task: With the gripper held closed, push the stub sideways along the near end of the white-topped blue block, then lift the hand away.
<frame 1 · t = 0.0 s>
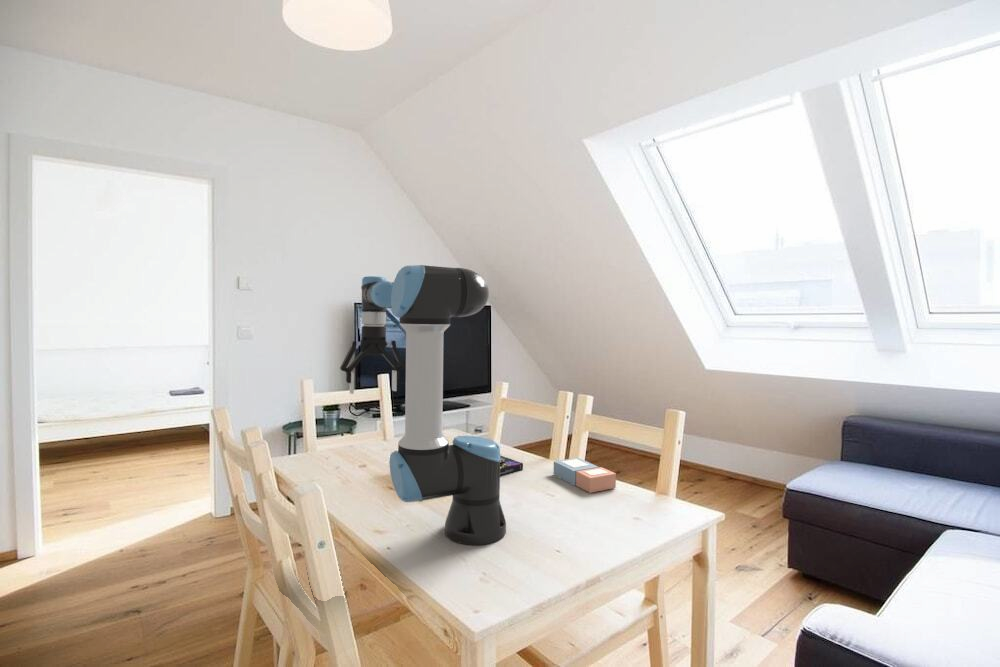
hand: (373, 392, 159), 28 cm above the table, fingers open, 13 cm apart
white-topped blue block: (576, 477, 165), on the table
stub: (595, 479, 156), point 3 cm above the table, slide at 0.0 cm
box: (488, 473, 170), on the table
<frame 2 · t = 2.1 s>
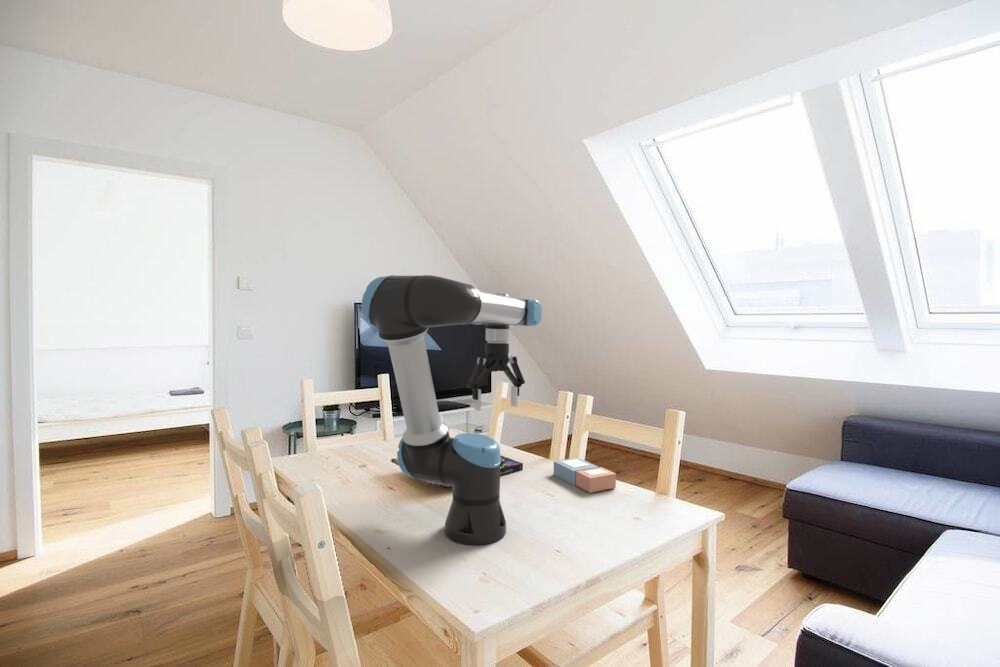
hand: (496, 408, 160), 23 cm above the table, fingers open, 13 cm apart
nothing on the table moved.
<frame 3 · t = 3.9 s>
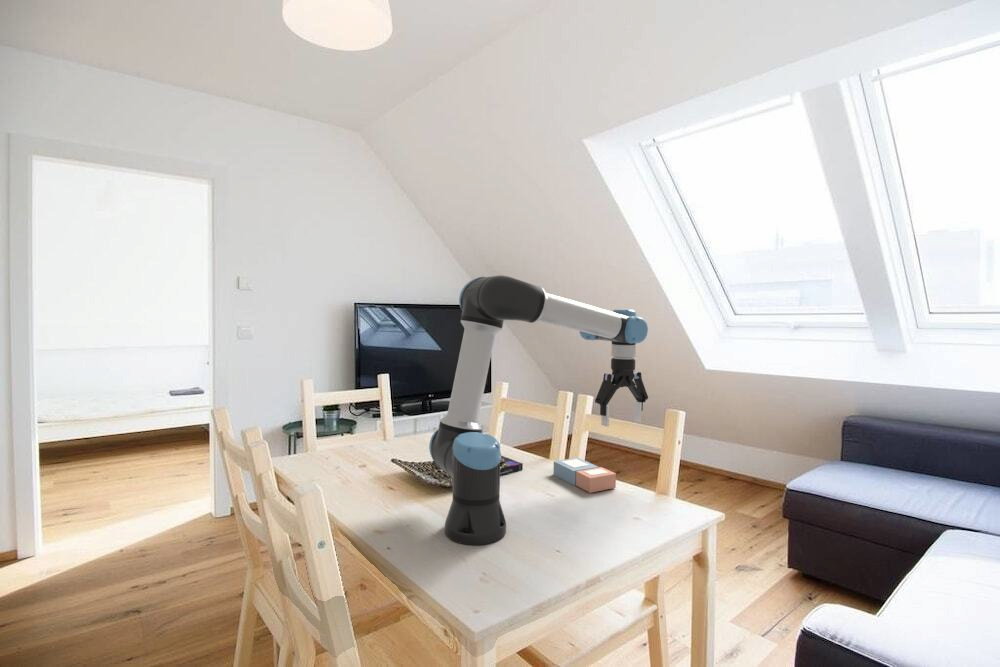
hand: (621, 423, 161), 19 cm above the table, fingers open, 13 cm apart
nothing on the table moved.
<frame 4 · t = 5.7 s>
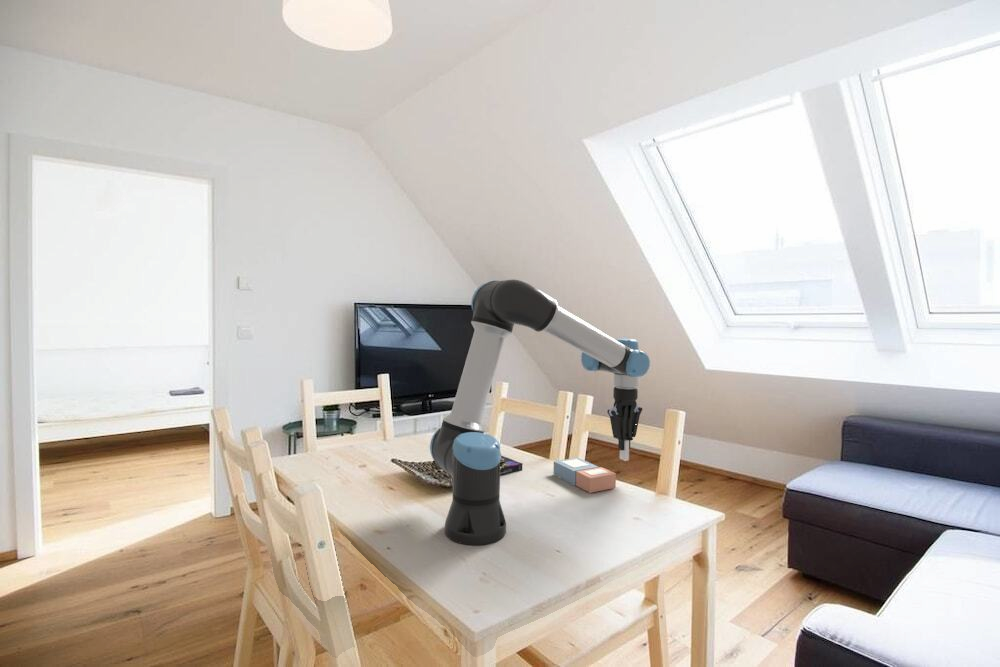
hand: (624, 459, 161), 7 cm above the table, fingers closed
nothing on the table moved.
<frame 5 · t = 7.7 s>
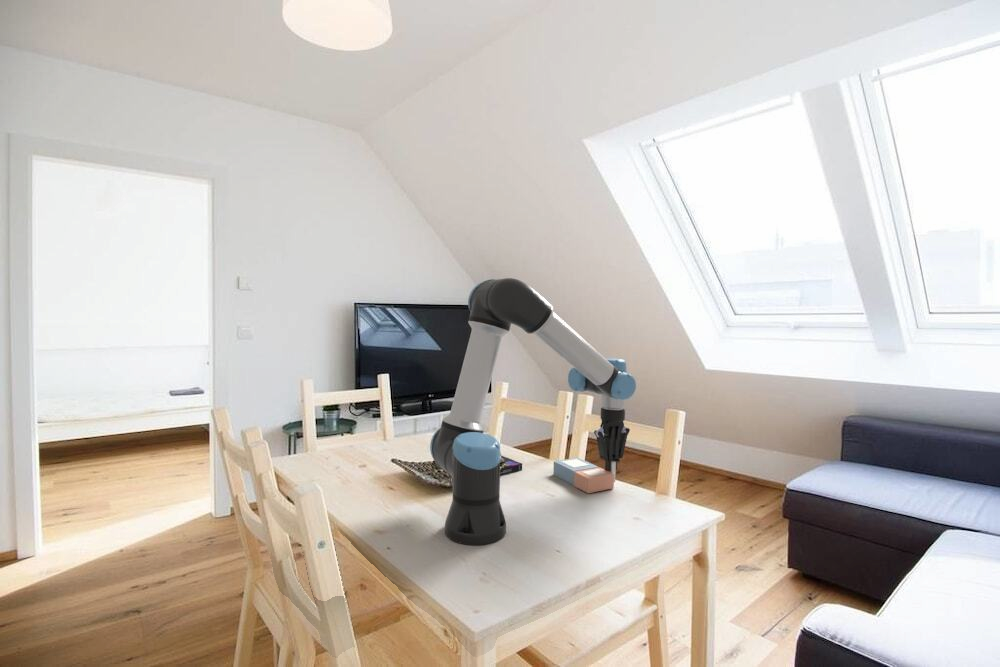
hand: (610, 480, 159), 1 cm above the table, fingers closed
stub: (593, 479, 156), point 3 cm above the table, slide at 0.8 cm, touching gripper
everything else where it was.
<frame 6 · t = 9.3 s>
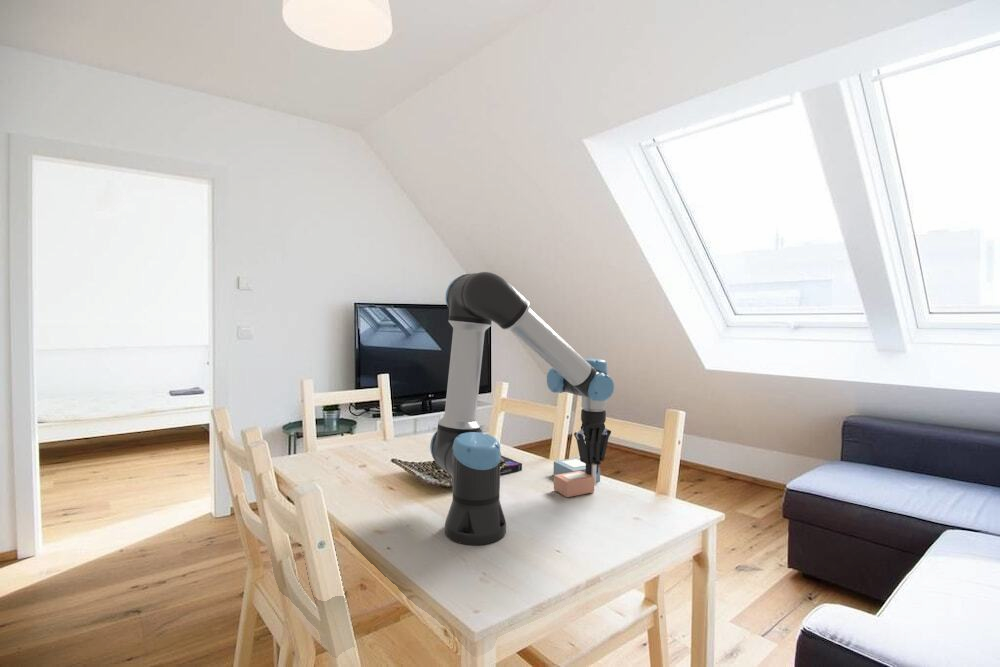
hand: (591, 484, 155), 1 cm above the table, fingers closed
stub: (573, 483, 152), point 3 cm above the table, slide at 8.4 cm, touching gripper
everything else where it was.
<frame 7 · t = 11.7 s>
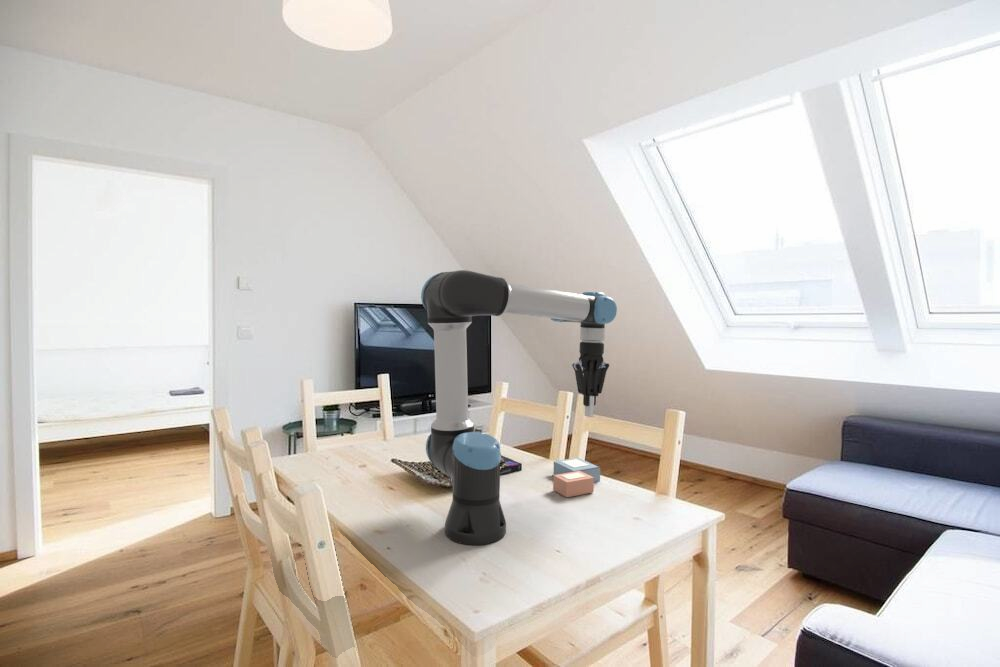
hand: (588, 416, 158), 22 cm above the table, fingers closed
stub: (573, 483, 152), point 3 cm above the table, slide at 8.7 cm
everything else where it was.
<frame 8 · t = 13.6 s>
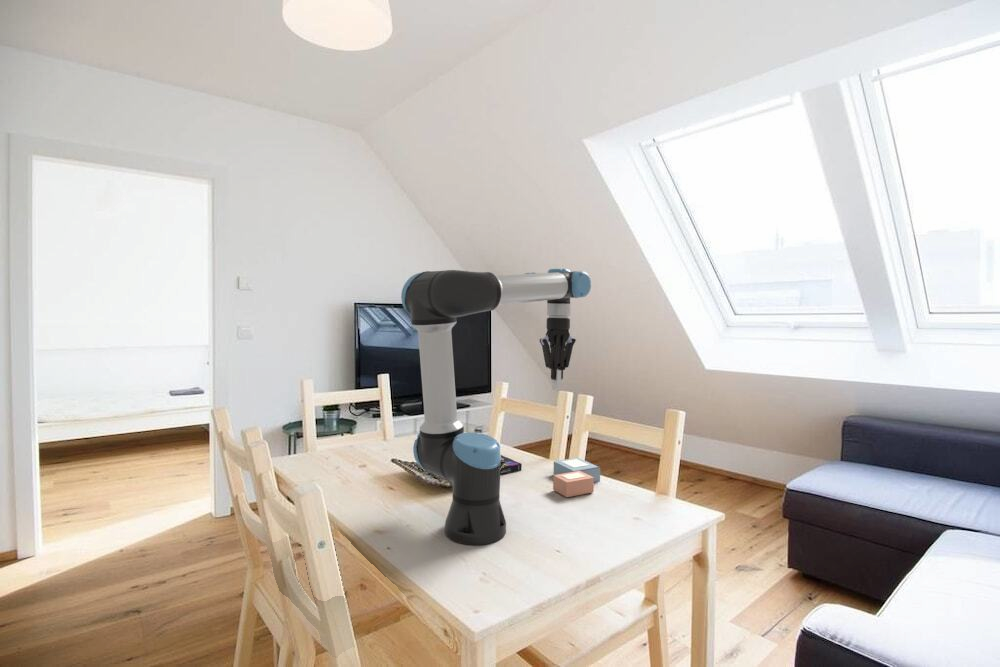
hand: (556, 389, 162), 29 cm above the table, fingers closed
nothing on the table moved.
at the end: stub slide at 8.7 cm; stub touching nothing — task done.
